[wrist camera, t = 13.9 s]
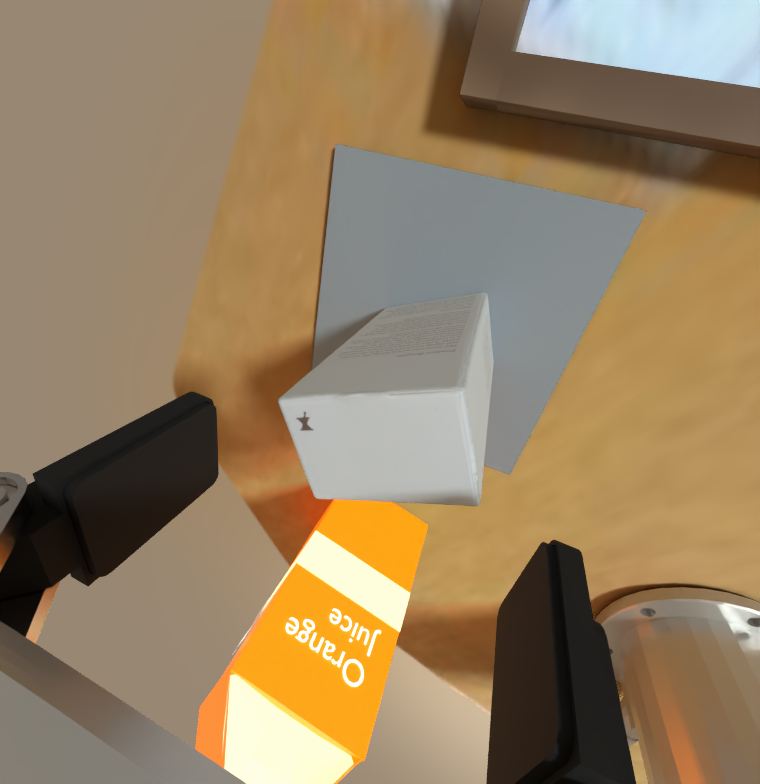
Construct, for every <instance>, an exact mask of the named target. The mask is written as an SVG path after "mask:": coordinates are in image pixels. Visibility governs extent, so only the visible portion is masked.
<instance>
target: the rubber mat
mask: <svg viewBox="0 0 760 784" xmlns="http://www.w3.org/2000/svg"><path fill="white" fill-rule="evenodd" d="M645 213H646V210H641V209H636V208H632V207H627V206H622V205H618V204H613V203H609V202H604V201H599V200H595V199H590V198H585V197H581V196H576V195H571V194H567V193H562V192H557V191H553V190H548V189H543V188H539V187H534V186H529V185H525V184H520V183H516V182H511V181H506V180H502V179H497V178H492V177H488V176H483V175H478V174H474V173H469V172H464V171H460V170H455V169H450V168H446V167H441V166H436V165H432V164H427V163H422V162H418V161H413V160H409V159H404V158H399V157H395V156H390V155H385V154H381V153H376V152H371V151H367V150H362V149H357V148H353V147H348V146H343V145H339V144H336V145H335V155H334V164H333V173H332V183H331V192H330V202H329V211H328V220H327V230H326V239H325V248H324V258H323V267H322V276H321V286H320V295H319V305H318V314H317V323H316V333H315V342H314V351H313V361H312V370H313V369H314V368H315V367H317V366H318V365H319V364H320V363H321V362H323V361H324V360H325V359H326V358H327V357H328V356H330V355H331V354H332V353H333V352H334V351H335V350H337V349H338V348H339V347H340V346H341V345H343V344H344V343H345V342H346V341H347V340H349V339H350V338H351V337H352V336H353V335H355V334H356V333H357V332H358V331H359V330H361V328H363V327H364V326H365V325H366V324H367V323H369V322H370V321H371V320H372V319H373V318H374V317H376V316H377V315H378V314H379V313H380V312H382V311H383V310H384V309H385V308H390V307H396V306H402V305H409V304H414V303H420V302H427V301H433V300H439V299H446V298H452V297H458V296H464V295H470V294H477V293H483V292H485V293H487V295H488V303H489V314H490V326H491V338H492V350H493V360H494V364H493V374H492V384H491V395H490V404H489V415H488V426H487V437H486V448H485V458H484V466H487V467H490V468H492V469H495V470H498V471H501V472H503V473H506V474H509V475H510V473H511V472H512V470H513V468H514V466H515V464H516V462H517V460H518V458H519V456H520V454H521V452H522V450H523V448H524V446H525V445H526V443H527V441H528V439H529V437H530V435H531V433H532V431H533V429H534V427H535V425H536V423H537V421H538V419H539V418H540V416H541V414H542V412H543V410H544V408H545V406H546V404H547V402H548V400H549V398H550V396H551V394H552V393H553V391H554V389H555V387H556V385H557V383H558V381H559V379H560V377H561V375H562V373H563V371H564V369H565V367H566V366H567V364H568V362H569V360H570V358H571V356H572V354H573V352H574V350H575V348H576V346H577V344H578V342H579V341H580V339H581V337H582V335H583V333H584V331H585V329H586V327H587V325H588V323H589V321H590V319H591V317H592V315H593V314H594V312H595V310H596V308H597V306H598V304H599V302H600V300H601V298H602V296H603V294H604V292H605V290H606V288H607V287H608V285H609V283H610V281H611V279H612V277H613V275H614V273H615V271H616V269H617V267H618V265H619V263H620V262H621V260H622V258H623V256H624V254H625V252H626V250H627V248H628V246H629V244H630V242H631V240H632V238H633V236H634V235H635V233H636V231H637V229H638V227H639V225H640V223H641V221H642V219H643V217H644V215H645ZM312 370H311V371H312Z"/></svg>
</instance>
